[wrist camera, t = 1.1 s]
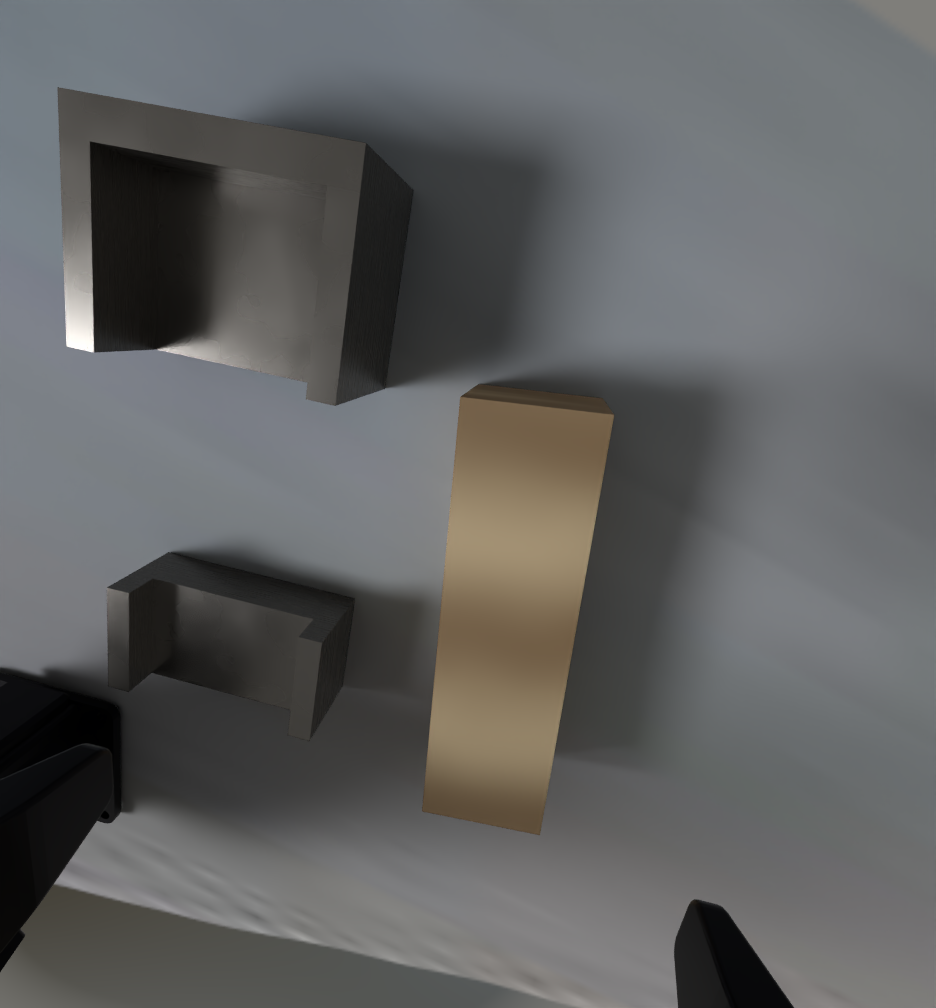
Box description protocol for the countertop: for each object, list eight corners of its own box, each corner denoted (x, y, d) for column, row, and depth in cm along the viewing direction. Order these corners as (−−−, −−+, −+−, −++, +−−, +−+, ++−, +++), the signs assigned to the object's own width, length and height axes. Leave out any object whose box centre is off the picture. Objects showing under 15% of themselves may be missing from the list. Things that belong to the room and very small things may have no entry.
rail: (542, 750, 22) (539, 835, 19) (444, 731, 23) (422, 811, 19) (601, 397, 18) (614, 415, 14) (479, 383, 19) (460, 396, 15)
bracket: (385, 388, 19) (335, 405, 15) (173, 342, 19) (66, 346, 15) (413, 190, 17) (366, 143, 13) (178, 146, 18) (57, 86, 13)
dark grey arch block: (342, 686, 23) (309, 741, 20) (166, 639, 23) (108, 686, 20) (354, 598, 21) (321, 643, 18) (168, 552, 22) (106, 587, 19)
